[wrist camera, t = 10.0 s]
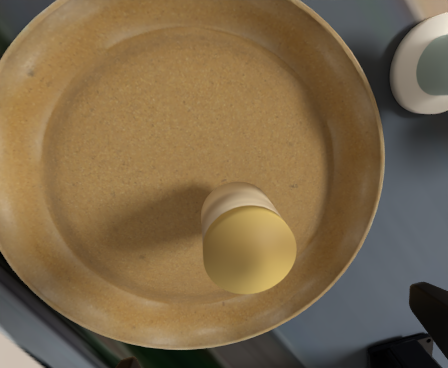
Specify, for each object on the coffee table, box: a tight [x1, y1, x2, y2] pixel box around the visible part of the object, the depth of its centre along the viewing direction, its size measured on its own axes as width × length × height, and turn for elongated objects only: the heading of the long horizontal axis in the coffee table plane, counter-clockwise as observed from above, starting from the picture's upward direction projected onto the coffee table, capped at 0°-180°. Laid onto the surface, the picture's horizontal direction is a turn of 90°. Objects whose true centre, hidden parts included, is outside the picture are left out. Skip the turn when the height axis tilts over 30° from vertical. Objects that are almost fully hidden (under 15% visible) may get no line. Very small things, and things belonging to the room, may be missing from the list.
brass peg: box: [201, 181, 297, 294], centre depth 14 cm, size 4×4×4 cm
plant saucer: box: [0, 0, 385, 350], centre depth 17 cm, size 24×24×3 cm
